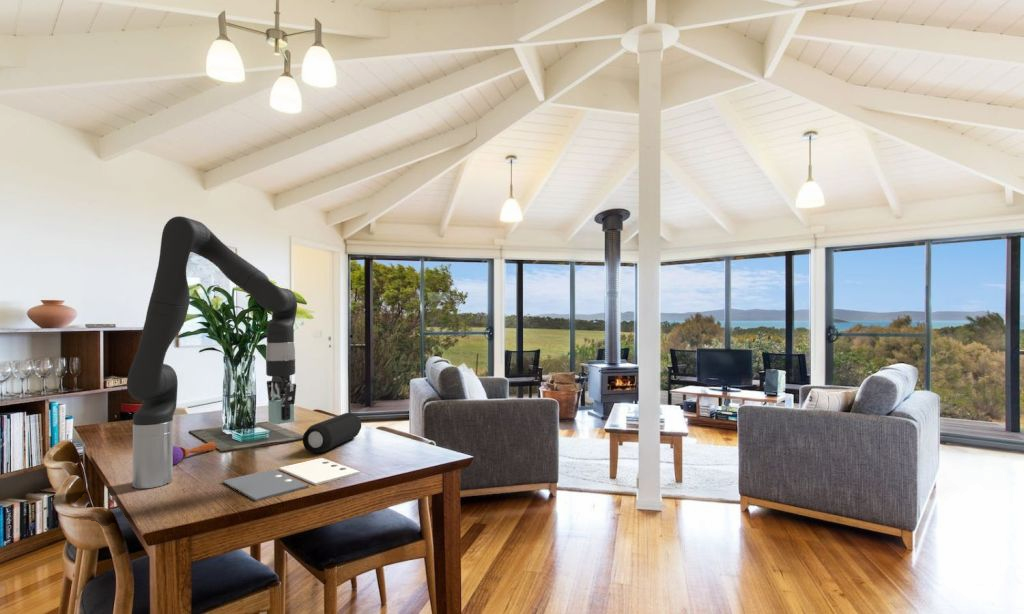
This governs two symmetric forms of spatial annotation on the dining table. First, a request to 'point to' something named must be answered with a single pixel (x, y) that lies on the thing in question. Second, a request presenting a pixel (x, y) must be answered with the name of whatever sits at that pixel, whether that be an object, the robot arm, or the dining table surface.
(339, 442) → the portable speaker
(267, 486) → the two dot pad
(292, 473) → the three dot pad
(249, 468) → the dining table surface
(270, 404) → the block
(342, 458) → the dining table surface
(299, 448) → the dining table surface
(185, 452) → the kendama
